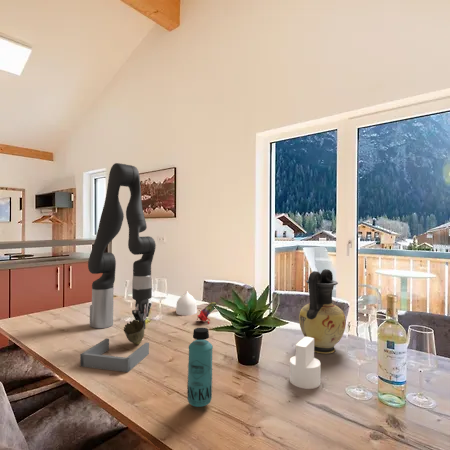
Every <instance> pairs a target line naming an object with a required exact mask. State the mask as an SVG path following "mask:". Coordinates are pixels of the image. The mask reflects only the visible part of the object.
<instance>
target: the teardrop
mask: <svg viewBox="0 0 450 450" xmlns="http://www.w3.org/2000/svg"><path fill="white" fill-rule="evenodd" d="M197 306H198V304H197V300H196V299H195V298H194V296H193V295H192V294H190V293H189V291H188V290H186V291H185V292H184V294H183V295H181V296H180V297H179V298H178V299H177V301H176V307H175V309H176V310H175V314H177V315H178V316H185V317H186V316H193V315H196V314H197V313H198V307H197Z"/></svg>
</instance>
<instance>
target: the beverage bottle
mask: <svg viewBox="0 0 450 450" xmlns="http://www.w3.org/2000/svg"><path fill="white" fill-rule="evenodd" d="M192 338H193V339H194V340H193V341H192V342H191V343H189V345H188V364H187V369H188V370H187V383H186V384H187V385H186V387H187V389H186V394H187V397H186V398H187V402H188V403H189V404H190V405H191V406H192V407H198V408H200V407H205V406H207V405H209V404H210V403H211V401H212V398H213V349H214V347H213V345H212V343H211V342H209V341H208V340H207V339H209V338H210V333H209V329H208V328H207V327H195V328H194V329H193V334H192Z"/></svg>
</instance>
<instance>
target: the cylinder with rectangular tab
mask: <svg viewBox="0 0 450 450" xmlns="http://www.w3.org/2000/svg"><path fill="white" fill-rule="evenodd" d="M321 368H322V367H321V361H320V360H319V359H318V358H316V357H315V352H314V338H311V337H305V336H304V337H303V338H302V339H300V340H299V341H298V342H297V343H296V344H295V355H294V356H291V357H290V358H289V382H290V384H292V385H293V386H295V387H297V388H300V389H303V390H305V389H306V390H312V389H313V390H314V389H317V388H318V387H320V385H321Z"/></svg>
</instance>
